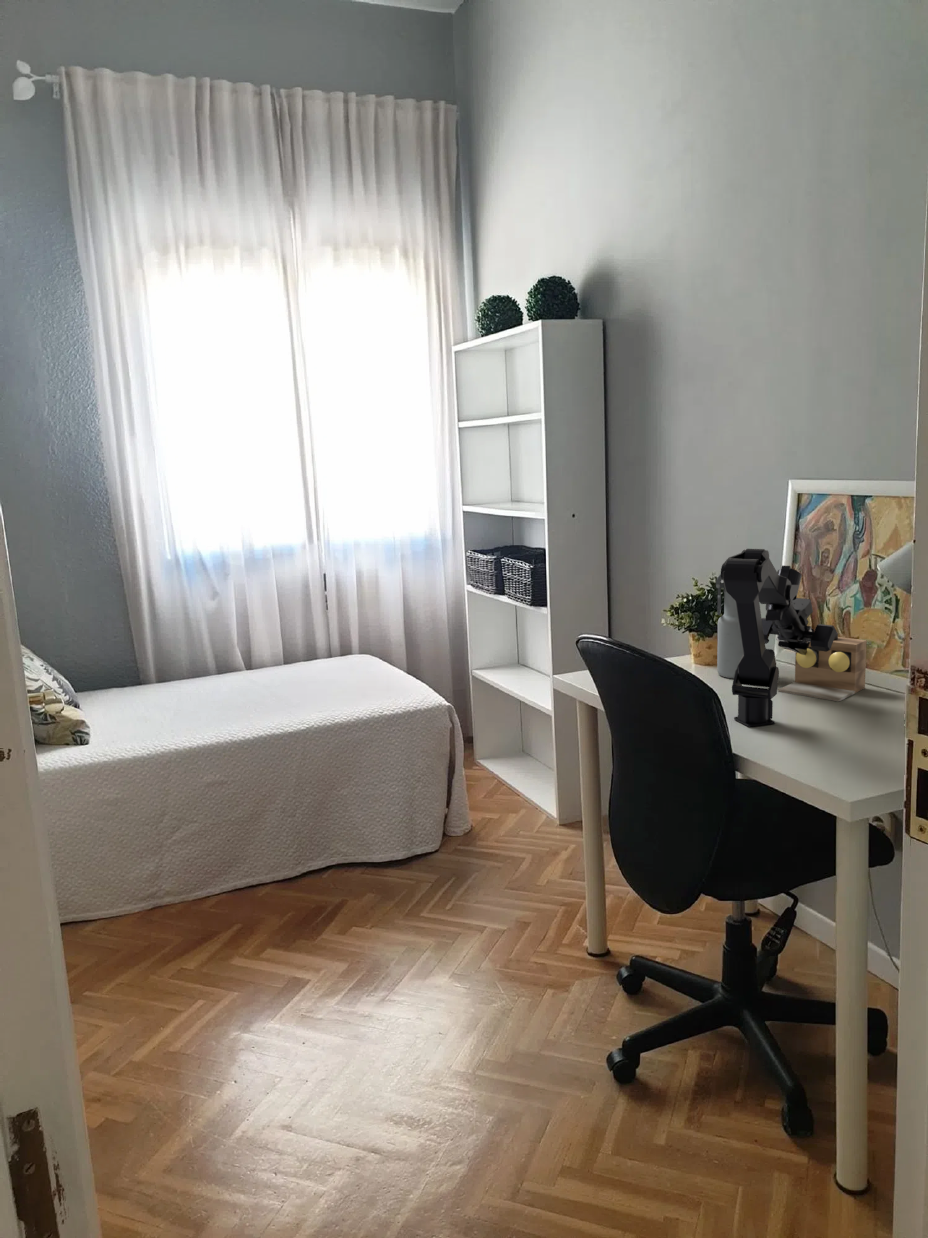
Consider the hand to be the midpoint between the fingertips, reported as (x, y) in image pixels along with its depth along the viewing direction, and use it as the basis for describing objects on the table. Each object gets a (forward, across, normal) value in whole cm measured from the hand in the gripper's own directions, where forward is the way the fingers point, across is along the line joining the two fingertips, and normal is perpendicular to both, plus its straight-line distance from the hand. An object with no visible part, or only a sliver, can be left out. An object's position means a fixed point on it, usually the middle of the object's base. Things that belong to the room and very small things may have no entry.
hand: (804, 653), depth 233 cm
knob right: (+6, -8, -1) cm, 10 cm away
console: (+7, -4, +6) cm, 10 cm away
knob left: (+6, 0, 0) cm, 6 cm away
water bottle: (+8, +20, +5) cm, 22 cm away
